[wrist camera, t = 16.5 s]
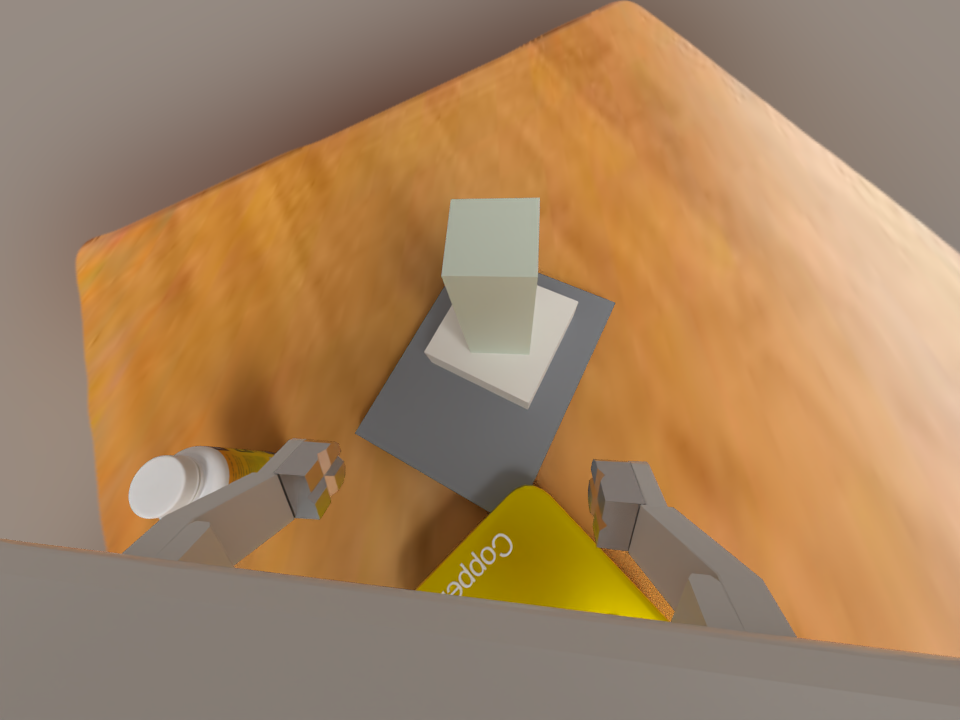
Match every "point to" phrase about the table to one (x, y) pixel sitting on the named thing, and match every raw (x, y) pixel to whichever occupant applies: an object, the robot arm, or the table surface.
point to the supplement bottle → (189, 477)
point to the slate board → (486, 395)
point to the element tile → (537, 562)
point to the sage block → (493, 271)
